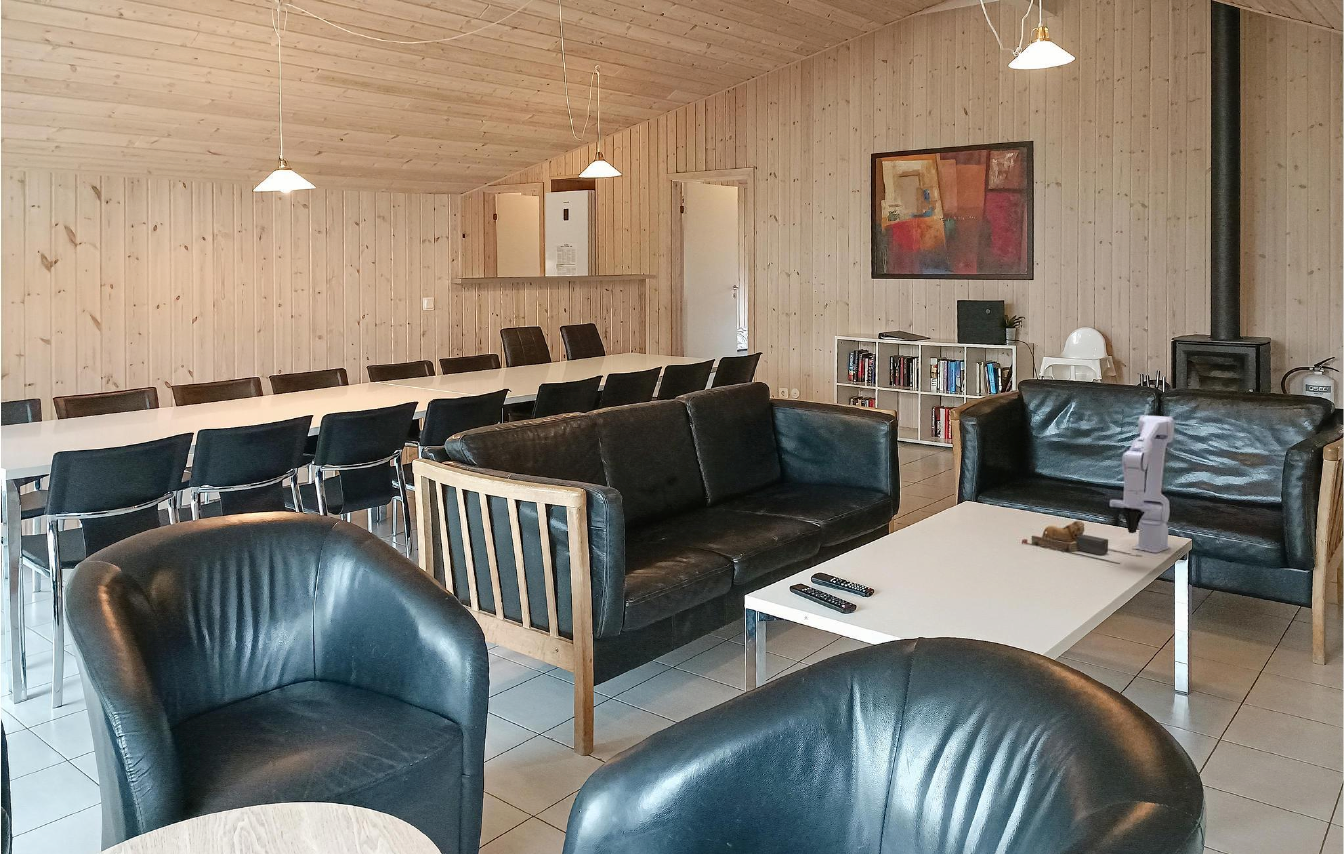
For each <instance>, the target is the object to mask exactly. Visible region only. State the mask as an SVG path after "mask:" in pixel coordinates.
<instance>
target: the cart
mask: <svg viewBox="0 0 1344 854" xmlns="http://www.w3.org/2000/svg"><path fill="white" fill-rule="evenodd" d="M1052 538H1053V539H1048V538H1043V537H1042V536H1039V535H1038V536H1037V535H1032V536H1031V544H1035V545H1040V546H1045V547H1049V548H1054V549H1059V550H1063V551H1068V552H1075V551H1082V552H1086V553H1089V554H1090V553H1091V554H1096V555H1105V554H1108V553H1109V550H1108V549H1109V539H1108V538H1102V537H1098V536H1093V535H1087V534H1084V533H1083V534H1082V535H1079V536H1076V539H1073V540H1072V542H1071V543H1068V540H1067V539H1060V538H1058V537H1056V536H1055V535H1053V537H1052ZM1057 539H1058V540H1057ZM1066 541H1067V542H1066Z"/></svg>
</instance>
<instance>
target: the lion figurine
mask: <svg viewBox="0 0 1344 854" xmlns="http://www.w3.org/2000/svg"><path fill="white" fill-rule="evenodd" d="M1084 532H1085V522H1083V521H1081V520H1075V521H1073V522H1072V523H1070V524H1067V525H1065V526H1064V527H1058V526H1055V525H1048V526H1046V527H1045V528H1044V530H1043V533H1042V536H1041V537H1043V538H1048V539H1052V537H1053V535H1055V536H1056V537H1058V538H1060V539H1067V540H1068V542H1067V543H1071V542H1072V540H1073V539H1076V536H1079V535H1083V534H1084ZM1045 533H1047V534H1046V536H1044V535H1045Z"/></svg>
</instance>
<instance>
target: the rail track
mask: <svg viewBox="0 0 1344 854" xmlns="http://www.w3.org/2000/svg"><path fill="white" fill-rule="evenodd" d="M1046 534H1047V532H1046V533H1045V535H1044V536H1046ZM1052 539H1053V538H1052ZM1053 540H1054V539H1053ZM1056 540H1057V541H1059V540H1058V539H1056ZM1065 542H1067V541H1065ZM1023 543H1024V544H1025V545H1030V546H1033V547H1038V546H1039V548H1043V549H1047V548H1049V549H1048V550H1053V551H1056V550H1057V551H1058V552H1062V553H1066V554H1070V555H1075V556H1080V557H1084V558H1089V559H1094V560H1099V561H1102V562H1107V563H1113V564H1117V565H1119V564H1121V562H1118V561H1113V560H1110V559H1108V560H1107V559H1104V558H1100V557H1096V556H1091V555H1085V554H1081V553H1077V552H1074V551H1071V552H1068V551H1064V550H1059V549H1055V548H1050V547H1045V546H1041V545H1035V544H1032V542H1031V543H1030V542H1028V539H1026V538H1024V539H1022V540H1021V544H1023ZM1067 543H1068V542H1067ZM1024 544H1023V545H1024ZM1110 550H1111V552H1115V553H1119V552H1121V553H1120V554H1124V555H1129V554H1132V553H1130V552H1127V551H1126V552H1125V551H1121V550H1116V549H1111V548H1108V551H1110ZM1138 556H1142V555H1141V554H1140V555H1139V554H1136V556H1135V557H1138Z"/></svg>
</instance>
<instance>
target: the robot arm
mask: <svg viewBox="0 0 1344 854" xmlns="http://www.w3.org/2000/svg"><path fill="white" fill-rule="evenodd" d="M1137 423H1138V424H1137V426H1138V427H1137V429H1138V432H1139V434H1140V436H1139V437H1137V438H1135V439H1134V440H1133V442H1132V444H1131V446H1130V448H1129V449H1128V450H1127V451H1124V452H1123V454H1122V459H1121V460H1122V461H1121V464H1122V473H1123V474H1122V475H1123V476H1124V477H1123V478H1124V479H1123V499H1122V500H1121V499H1115V498H1114V499H1110V500H1109V506H1110V507H1111V508H1115V507H1116V508H1121V509H1122V510H1121V512H1120V513H1121V514H1122V516H1123V518H1124V520H1125V523H1126V527H1127V531H1128V533H1129V534H1135V533H1137V531H1138V542H1137V543H1138V544H1137V545H1135V546H1132V549H1134V548H1135V549H1134V550H1138V549H1139V551H1143V550H1145V552H1149V553H1154V554H1157V553H1159V552H1163V551H1165V550H1166V551H1167V550H1169V549H1171V546H1168V544H1169V541H1168V540H1169V527H1168V525H1167V523H1168V521H1169V518H1170V512H1171V511H1170V500H1169V499H1168V498H1167V497H1166V496H1165V495H1164V494H1162V486H1163V477H1164V476H1163V475H1164V468H1165V467H1164V465H1165V454H1166V448H1167V445H1168V444H1170V443H1171V442H1173V439H1174V433H1175V419H1174V418H1173V416H1171V415H1170V416H1162V415H1161V416H1160V415H1147V414H1141V416H1139V418H1138V422H1137ZM1146 469H1147V471H1146ZM1146 472H1147V473H1146ZM1145 474H1146V478H1145ZM1145 479H1146V484H1145ZM1137 529H1138V530H1137Z"/></svg>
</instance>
